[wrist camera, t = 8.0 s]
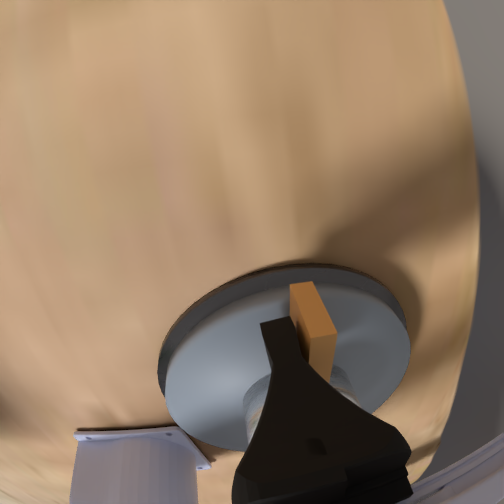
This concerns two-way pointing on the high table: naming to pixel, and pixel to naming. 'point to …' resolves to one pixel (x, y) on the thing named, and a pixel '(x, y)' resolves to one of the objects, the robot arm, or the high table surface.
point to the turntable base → (261, 283)
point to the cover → (259, 390)
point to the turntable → (256, 360)
